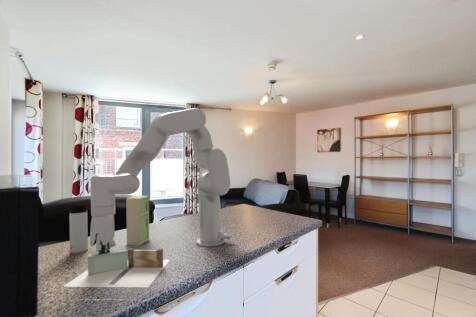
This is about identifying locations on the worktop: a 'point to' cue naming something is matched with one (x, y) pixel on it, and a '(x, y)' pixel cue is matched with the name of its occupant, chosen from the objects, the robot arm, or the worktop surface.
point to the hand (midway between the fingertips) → (104, 262)
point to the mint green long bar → (107, 261)
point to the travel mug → (78, 229)
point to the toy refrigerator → (137, 219)
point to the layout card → (119, 277)
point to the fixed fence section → (145, 258)
